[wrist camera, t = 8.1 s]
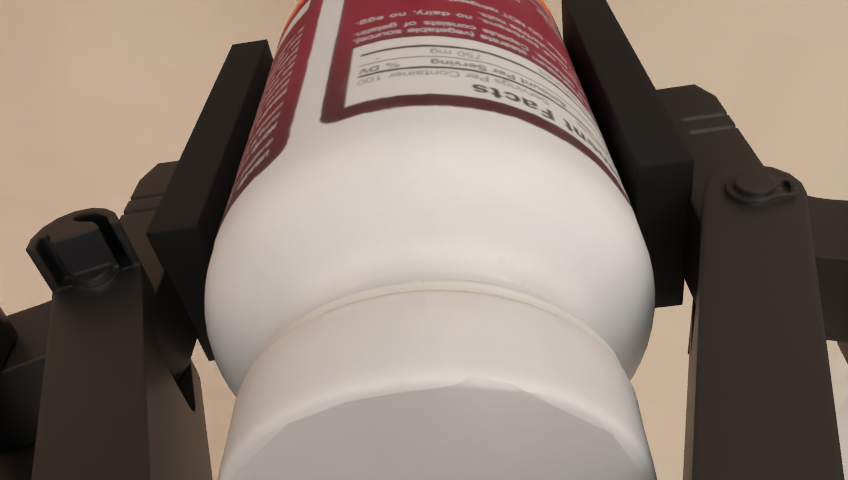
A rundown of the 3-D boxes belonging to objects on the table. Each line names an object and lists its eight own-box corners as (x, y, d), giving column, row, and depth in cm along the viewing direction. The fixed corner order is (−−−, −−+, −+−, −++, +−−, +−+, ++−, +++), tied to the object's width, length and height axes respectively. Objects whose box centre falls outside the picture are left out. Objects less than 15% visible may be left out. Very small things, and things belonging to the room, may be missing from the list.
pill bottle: (386, 223, 19) (364, 693, 10) (222, 32, 16) (-9, 483, 7) (608, 105, 17) (808, 569, 8) (471, -143, 14) (567, 195, 5)
